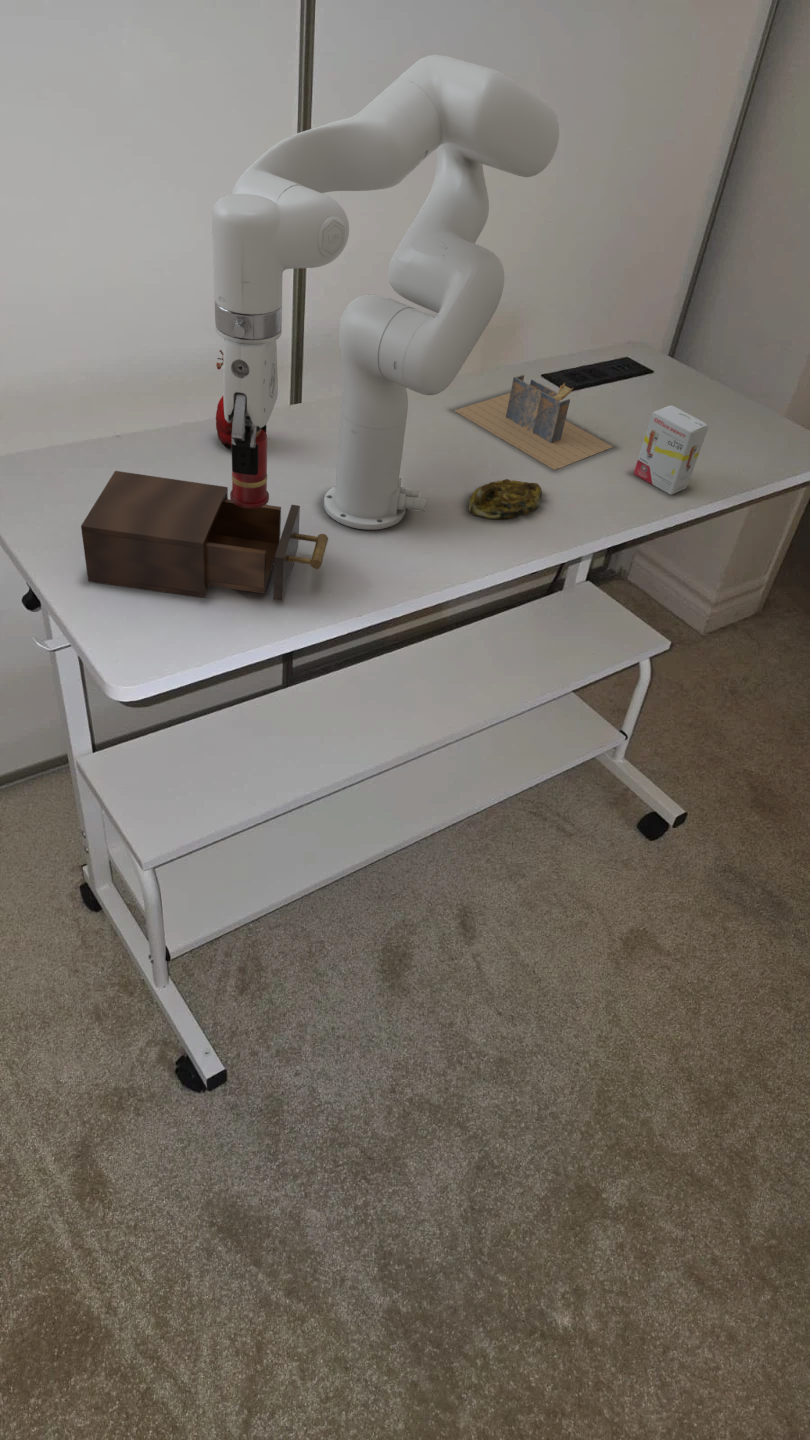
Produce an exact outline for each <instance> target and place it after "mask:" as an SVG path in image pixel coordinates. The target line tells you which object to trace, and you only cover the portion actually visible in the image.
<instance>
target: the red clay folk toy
mask: <svg viewBox="0 0 810 1440" xmlns="http://www.w3.org/2000/svg"><path fill="white" fill-rule="evenodd" d="M218 352H219V353H220V354H221V355H222V357H217V360H220V361H221V360H222V362H216V363H215V364H216V366H215V367H216V369H217V370H221V369H222V367H223V355H224V351H222V349H220V350H219V351H218ZM215 429H216V433H217V438H218V440H219V441H220V442H221V444H222V445H223V446H224V447H225V448H228V449H231V450H232V445H231V434H232V421H231V423H228V422H227V421H226V419H225V415H224V400H223V395H222V396H221V398H220V399H219V401H218V403H217V407H216V412H215Z"/></svg>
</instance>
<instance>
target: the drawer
mask: <svg viewBox="0 0 810 1440" xmlns="http://www.w3.org/2000/svg"><path fill="white" fill-rule="evenodd" d="M300 514H301V506H300V505H298V504H291V505H290V508H289V511H288V514H287V517H286V520H285V524H284V527H283V530H282V533H281V527H282V526H281V524H282V507H281V506H277V505H271V504H266V505H264V506H262V507H259V508H243V507H239V506H237V505H235V504H234V503H233V502H232V501H231V499H230V498H228V499H224V501H223V504H222V506H221V508H220V511H219V513H218V515H217V518H216V520H215V522H214V525H213V527H212V529H211V532H210V534H209V536H208V539H207V541H206V543H205V573H206V585H209V587H216V588H217V587H218V588H222V589H231V590H237V591H238V590H239V591H245V592H252V593H259V594H265V592H266V590H267V587H268V583H269V580H270V577H271V574H272V571H273V588H272V589H273V591H272V599H273V600H274V601H280V602H281V601H283V598H284V595H285V592H286V589H287V586H288V583H289V582H288V581H289V578H290V576H291V572H292V569H293V566H294V563H297V564H305V565H310V567H311V568H312V569H314V570H318V569H321V568H322V565H323V561H324V557H325V554H326V549H327V545H328V542H329V536H328V535H327V534H326V533H319V534H318V535H317V536H316V535H309V534H302V533H300V518H301V517H300V516H301V515H300ZM299 541H306V542H312V543H315V544H314V548H313V552H312V555H311V558H308V557H302V556H297V553H298V549H299Z"/></svg>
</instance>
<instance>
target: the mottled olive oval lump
mask: <svg viewBox="0 0 810 1440" xmlns="http://www.w3.org/2000/svg"><path fill="white" fill-rule="evenodd" d="M542 497H543V490H542V487H541V485H540V484H539V483H537V482H527V481H526V482H525V481H521V480H514V479H512V480H511V479H508V478H505V479H502V480H497V481H492V482H491V481H490V482H488V483H486V484H483V485H481V486H479V487H478V488H475V490H473V492H472V494H471V495H470V497H469V500H468V511H469V513H470V514H471V515H473V516H476V517H479V518H483V519H487V520H498V521H499V520H500V521H506V520H511V519H512V520H513V519H515V518H517V517H520V516H524V515H525V516H526V515H529V514H531V513H532V512H534V511H536V510H537V509H538V508H539V506H540V504H541V501H542Z"/></svg>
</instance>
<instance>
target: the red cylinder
mask: <svg viewBox="0 0 810 1440" xmlns="http://www.w3.org/2000/svg"><path fill="white" fill-rule="evenodd" d="M246 419H248V420H251V418H250V416H246ZM250 429H251V427H246V426H245V431H246V432H249V434H250ZM256 444H257V445H258V474H257V475H248V474H241V473H234V472H233V471H232V470H231V482H232V483H231V484H232V485H231V490H230V493H229V499H230V500H231V501H232V502H233V503H234V504H235V505H237V506H239V507H243V508H259V507H262V506H264V505H268V503H269V501H270V493H269V491H268V434H267V431H266V432H265V431H263V430H262V429H261V428H260V427H259V426H257V428H256ZM231 445H232V434H231Z"/></svg>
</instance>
